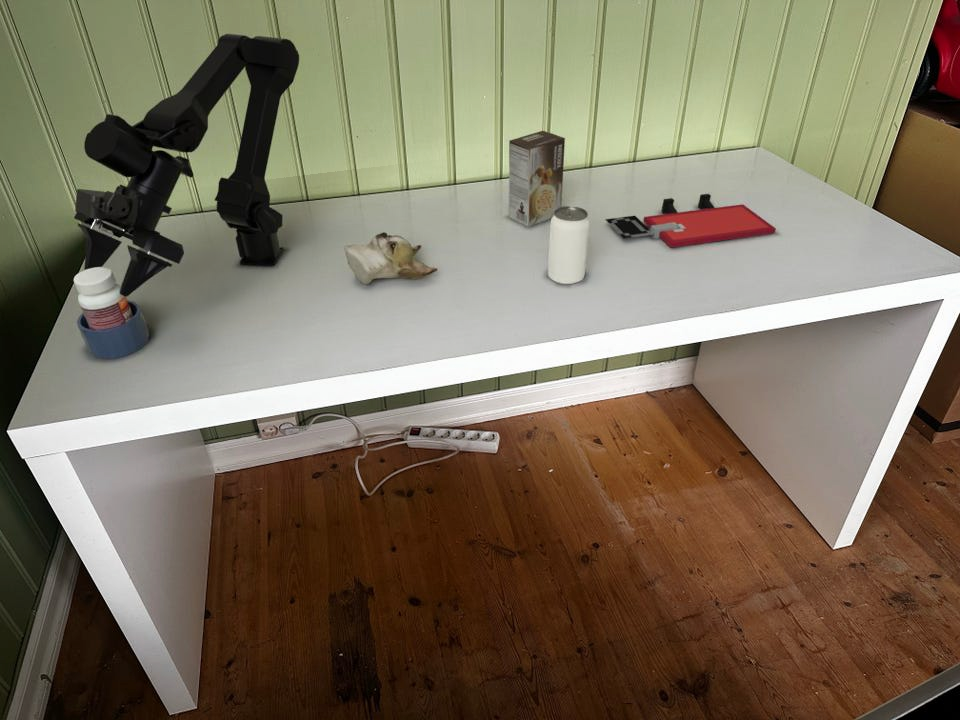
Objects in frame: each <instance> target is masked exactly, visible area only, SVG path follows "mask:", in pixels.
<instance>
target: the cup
mask: <svg viewBox="0 0 960 720" xmlns="http://www.w3.org/2000/svg"><path fill="white" fill-rule="evenodd" d="M127 301H128V304H129V306H130V309H131V312H132V314H133V318H132V319H130V320H129V321H128V322H126V323H124V324H122V325H119V326H117V327H113V328H110V329H104V330H90V327H89V325H88V323H87V320H86V318H85V316H84V314H83V312H82V313H81V314H79V316H78V318H77V320H76V324H77V328H78V330H79V332H80V334H81V336H82V339H83V341H84V343H85V346H86V348H87V350H88V352H89V353H90V355H91V356H92V357H95V358H97V359H102V360H112V359H119V358H123V357H126V356H129V355H132V354H135V353H136V352H138V351H139V350H141V349H142V348H144V347H145V346H146V345H147V343H148V342H149V340H150V331H149V328H148V326H147V323H146V320H145V318H144V314H143V312H142V309H141V307H140V305H139V304H138V303H137V302H136V301H134V300H133V301H132V300H129V299H127Z"/></svg>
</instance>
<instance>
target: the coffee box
mask: <svg viewBox="0 0 960 720" xmlns="http://www.w3.org/2000/svg"><path fill="white" fill-rule="evenodd" d="M508 142H509V144H508V145H509V148H508V149H509V151H508V152H509V153H508V154H509V155H508V218H510V219H511V220H513V221H516V222H517V223H520V224H522V225H523V226H525V227H527V228H530V227H534V226H535V225H538V224H540V223H543V222H545V221H548V220H551V219H552V217H553V216H554V211H555V210H556V209H557V208H560V207H562V202H563V201H562V200H563V182H564V166H565V165H564V164H565V147H566V145H565V143H566V137H563V136H560V135H557V134H554V133H552V132H549V131H545V130H540V131H537V132H533V133H530V134H527V135H523V136H519V137H517V138H513V139H509V140H508Z"/></svg>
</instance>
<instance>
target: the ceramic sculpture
mask: <svg viewBox="0 0 960 720" xmlns="http://www.w3.org/2000/svg"><path fill="white" fill-rule="evenodd" d="M421 248H422V245H421V244H418V245H415V246H412V245H411V244H410V242H409V241H408V240H407V239H405V238H404V237H403V236H401V235H398V234H395V235H391V234H388V233H387V232H383V231H382V232H381V233H377V234H376V235H375V236H373V237H372V238H371V240H370V242H369V243H368V244H365V245H357V244H351V245H345V246H344V252H345V257H346V261H347V264H348V266H349V268H350V269H351V271H352V272H353V274H354V276H355V279H356V280H357V281H359V282H360V283H362V284H363V285H366V286H367V285H369V284H370V283H371V282H372V281H373V280H374V279H396V278H397V279H398V278H405V279H411V280H418V279H421V278H424V277H427V276H429V275H431V274H433V273H435V272H437V271H438V268H436V267H431V266H428V265H426V264H425V263H423V262H419V261H415V260H414V257H415V256H416V255H417V254H418V253H419V251H420V250H421Z"/></svg>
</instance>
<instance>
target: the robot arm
mask: <svg viewBox="0 0 960 720" xmlns="http://www.w3.org/2000/svg"><path fill="white" fill-rule="evenodd" d="M299 64H300V53H299V51H298V50H297V48H296V45H295V43H294V42H293V41H292V40H291V39H288V38H282V37H273V36H263V35H255V36H254V37H249V36H248V35H244V34H235V33H224V34H222V35H221V36H220V37H218V40H217V45H215V47H214V48H213V50H212V51H211V52H210V53H209V54H208V56H206V59H204V60H203V62H202V63H201V64H200V66H199V67H198V68H197V69H196V71H195V72H194V73H193V74H192V75H191V77H190V78H189V79H188V81H187V82H186V83H185V84H184V86H183V87H182V88H181V89H180V90H179V91H178V92H176V93H175V94H172V95H171V96H169V97H165V98H164V99H162V100H160V101H159V102H158V103H156V104H155V105H154V106H153V107H152V108H150V109H149V110H148V111H147V112H146V114H145V116H144V117H143V119H142V120H140V121H138V122H136V123H135V124H133V125H131V124H130V123H128V122H127V121H126V120H125V119H124V118H122V117H121V116H119V115H116V114H111V113H107V114H105V117H104V120H103V121H101V122H99V123H97V124H96V125H94V126H93V128H92V129H90V131H89V132H87V134H86V136H85V139H84V142H83V143H84V144H83V148H84V152H85V154H86V156H87V158H89V159H90V160H93V161H95V162H96V163H98V164H100V165H102V166H104V167H105V168H108V169H109V170H111V171H113V172H115V173H117V174H118V175H121V176H122V177H124V178H129V180H128V182H127V185H124V184H120V183H119V185H117V186H116V188H115V190H114V191H113V192H112V191H109V190H107V191H104V190H103V191H102V190H93V189H85V188H77V189H76V196H75V206H74V207H75V209H74V211H75V214H74V217H73V219H75V220H76V221H79V222H82V224H81V223H79V222H77V228H79V229H80V230H81V232H82V234H83V236H84V237H85V254H84V255H85V256H84V267H83V271H84V270H87V269H90V268H95V267H103V266H104V265H105V264H106V263H107V261H108V260H109V259H110V258H111V257H112V255H113V254H114V253H115V252H116V251H117V249H118V248H119V247H120V245H121V244H122V243H123V241H121V240H119V239H121V238H122V237H124V238H125V239H128V240H130V241H132V245H133V246H136V247H138V248H136V247H133V246H132V245H129V244H127V246H126V247H127V250H128V253H129V257H130V261H129V264H128V266H127V269H126V271H125V274H124V276H123V280H122V282H121V285H120V286H121V289H120V295H123V296H126V298H127V297H129V296H130V295H131V294H132V293H134V292H135V291H136V290H138V288H140V287H141V286H142V285H144V284H145V283H146V282H147V281H149V280H150V279H152V278H153V277H154V276H156V275H157V274H159V273H160V272H162V271H163V270H164V269H166V268H168V267H169V268H172V266H173V263H175V264H178V265H180V264H181V261H182V259H183V257H184V255H185V250H184V246H183V244H181V243H179V242H177V241H175V240H172V239H170V238H168V237H166V236H164V235H162V234H161V232H160V231H157V230H156V229H157V226H158V224H159V222H160V221H161V220H160V219H161V218H162V215H163V213H165V214H166V215H170V213H171V211H172V209H173V208H172V207H170V206H169V205H167V204H168V202H169V200H170V198H171V196H172V194H173V191H174V190H175V187H176V185H177V183H178V180H179V179H180V176H181V175H182V176H185V177H188V178H194V172H193V169H192V167H191V165H190V160H189V159H188V158H186V157H184V156H181V155H177V156H174V155H172V154H171V153H169V152H168V151H165V150H169V151H173V152H180V153H192V152H196V150H197V149H198V148H199V146H200V145H201V143H202V141H203V139H204V137H205V136H206V133H207V131H208V129H209V116H210V115H211V112H212V111H213V109H214V108H215V107H216V105H217V104H218V103H219V102H220V100H221V99H222V98H223V96H224V95H225V94H226V92H227V91H228V89H229V88H230V87H231V86H232V84H233V83H234V82H235V81H236V79H237V78H238V77H239V76H240V74H241V73H242V71H243V70H245V74H246V76H247V80H248V82H249V86H250V91H249V95H248V100H247V106H246V109H245V110H246V111H245V116H244V117H245V118H244V122H243V126H242V132H241V136H240V142H239V147H238V153H237V158H236V162H235V168H234V171H233V172H232V173H231V174H230V175H229V177H228V178H227V177H220V179H219V180H218V185H217V186H218V188H217V193H216V196H215V198H214V201H215V202H216V212H217V214H218V215H219V217H220V219H221V220H222V221H223V222H224V223H225V224H226V225H227V228H229V229H235V232H236V236H235V243H236V247H237V250H238V254H239V255H238V256H239V257H240V260H239V261H238V262H239V265H240V266H259V267H260V266H262V267H273V266H275V265H276V264H277V262H278V261H279V259H280V257H281V256H282V255H283V253H284V251H285V247H283V246H280V240H279V237H278V232H279V229H280V228H282V227H283V214H282V213H280V212H279V211H277V210H276V209H275V208H272V207H271V205H270V203H271V194H270V191H269V188H268V185H267V182H266V173H267V167H268V163H269V158H270V153H271V147H272V142H273V137H274V133H275V127H276V122H277V116H278V112H279V108H280V103H281V97H282V95H284V94H285V92H286V91H287V90H288V89H289V87H290V86H291V85H292V84H293V83H294V80H295V77H296V74H297V71H298V68H299ZM154 147H155V148H159V149H157V150H153V148H154ZM161 149H164V150H161ZM113 236H114V237H116V238H118V239H116V238H114V237H113ZM170 261H171V262H172V263H170Z"/></svg>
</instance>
